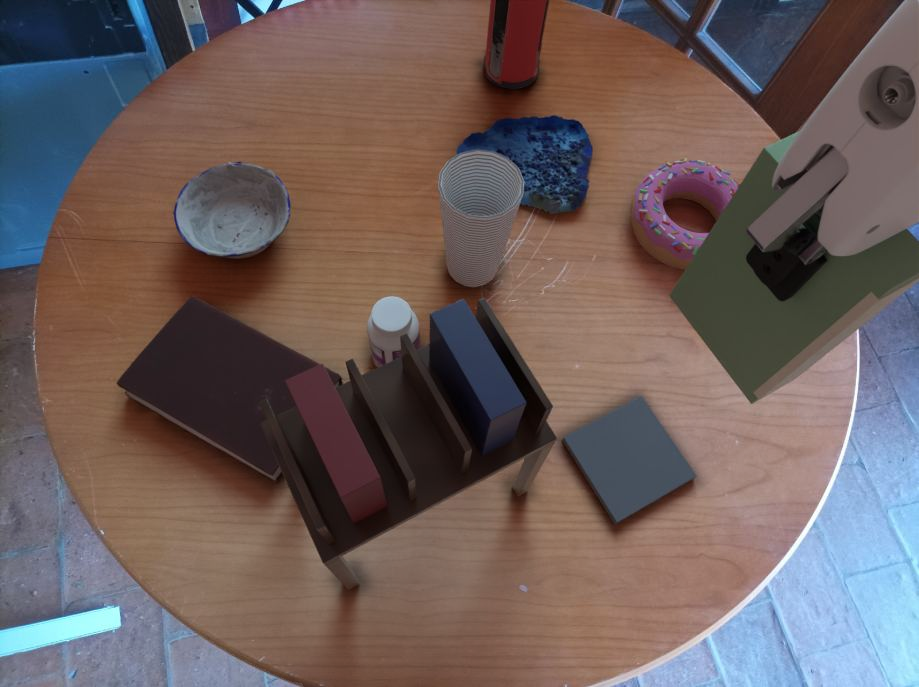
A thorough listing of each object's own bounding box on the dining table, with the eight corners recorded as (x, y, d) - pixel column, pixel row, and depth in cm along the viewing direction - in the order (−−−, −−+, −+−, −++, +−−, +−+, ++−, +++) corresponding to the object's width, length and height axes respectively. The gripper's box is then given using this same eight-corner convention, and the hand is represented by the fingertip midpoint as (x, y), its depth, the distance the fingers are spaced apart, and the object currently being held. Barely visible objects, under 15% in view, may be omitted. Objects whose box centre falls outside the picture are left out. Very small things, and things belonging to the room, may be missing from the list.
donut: (606, 240, 85) (616, 215, 80) (656, 162, 90) (668, 135, 86) (714, 297, 82) (731, 275, 77) (759, 214, 87) (777, 188, 83)
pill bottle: (422, 334, 78) (421, 291, 70) (418, 377, 76) (417, 339, 67) (374, 330, 78) (367, 287, 70) (368, 374, 76) (361, 335, 67)
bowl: (171, 210, 84) (157, 185, 80) (271, 172, 87) (263, 146, 83) (208, 294, 79) (195, 272, 75) (313, 251, 82) (307, 227, 78)
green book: (788, 385, 45) (941, 263, 32) (751, 405, 45) (893, 290, 31) (703, 278, 49) (809, 126, 35) (668, 295, 48) (763, 147, 34)
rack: (527, 491, 71) (571, 412, 49) (348, 590, 66) (310, 550, 45) (470, 394, 75) (488, 282, 54) (298, 480, 71) (241, 395, 49)
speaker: (530, 97, 94) (551, -23, 78) (475, 82, 95) (485, -40, 78) (544, 58, 97) (568, -65, 81) (491, 44, 98) (505, -81, 82)
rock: (582, 220, 86) (585, 210, 84) (446, 196, 86) (446, 186, 85) (595, 131, 92) (598, 121, 90) (468, 110, 93) (468, 99, 91)
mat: (693, 478, 72) (697, 476, 72) (614, 524, 70) (617, 522, 69) (638, 398, 76) (641, 395, 75) (561, 440, 74) (563, 437, 73)
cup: (486, 226, 85) (498, 137, 71) (521, 280, 82) (540, 199, 68) (423, 252, 83) (423, 166, 69) (457, 309, 80) (463, 231, 66)
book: (200, 305, 79) (191, 291, 76) (345, 384, 75) (341, 373, 72) (125, 395, 74) (113, 384, 71) (277, 485, 70) (270, 477, 67)
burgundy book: (387, 506, 52) (380, 477, 44) (353, 524, 51) (340, 498, 44) (337, 405, 55) (322, 362, 48) (304, 421, 55) (284, 380, 47)
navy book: (512, 440, 55) (527, 402, 47) (481, 456, 54) (490, 420, 46) (459, 347, 58) (463, 298, 50) (429, 361, 57) (429, 313, 50)
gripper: (980, 128, 18) (717, 386, 35) (1338, -51, 22) (948, 258, 39) (793, -45, 21) (631, 272, 38) (1142, -178, 25) (856, 162, 42)
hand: (794, 263), depth 38 cm, fingers closed on green book, 3 cm apart
